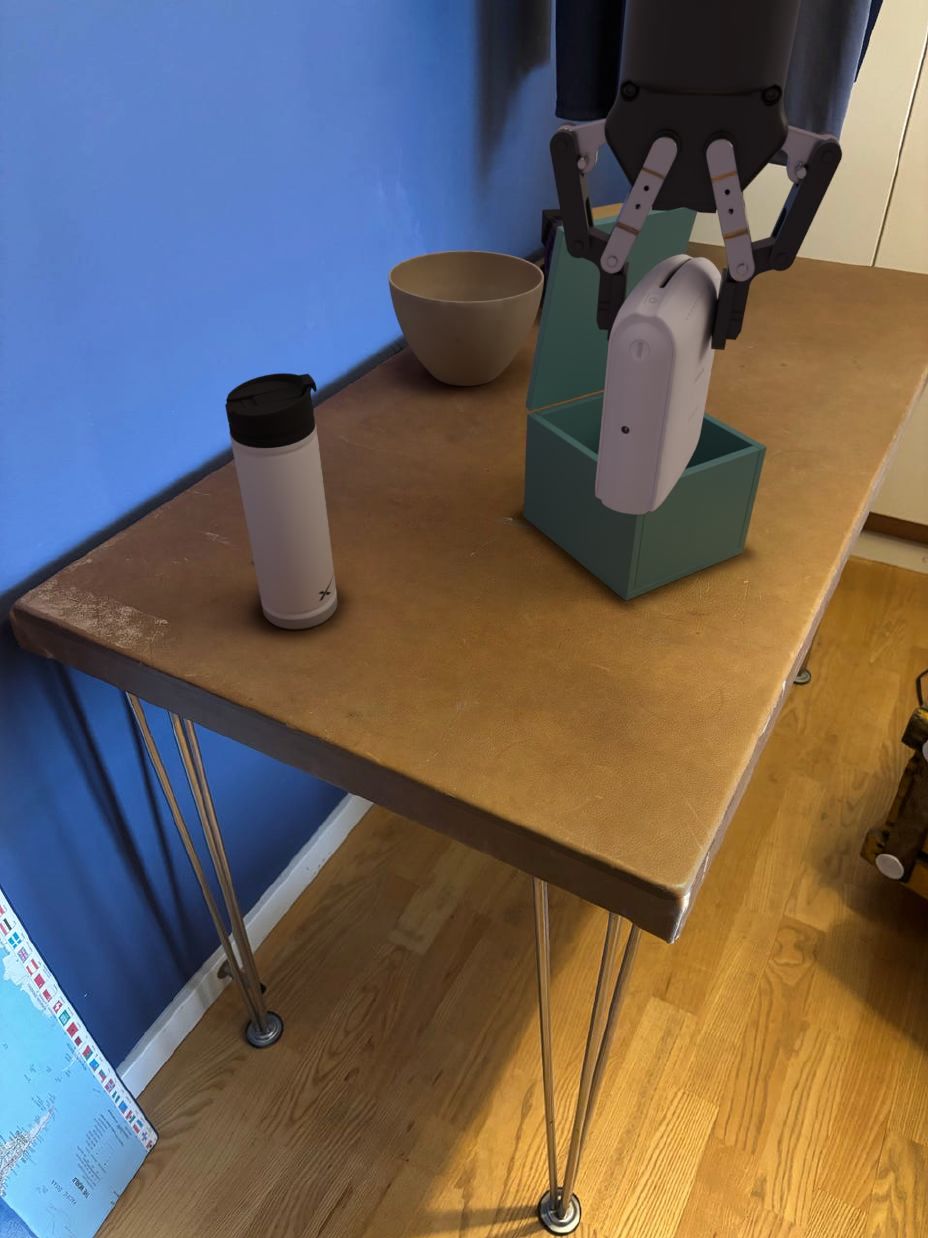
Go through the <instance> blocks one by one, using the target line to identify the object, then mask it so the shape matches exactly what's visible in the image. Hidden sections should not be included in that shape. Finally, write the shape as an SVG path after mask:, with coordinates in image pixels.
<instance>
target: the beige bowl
mask: <svg viewBox="0 0 928 1238" xmlns="http://www.w3.org/2000/svg"><path fill="white" fill-rule="evenodd" d="M543 283H544V275H543V272H542V271H541V270H540V267H538V266H537V265H536V264H534V263H532V262H531V261H528V260H526V259H523V258H522V257H517V256H514V255H511V254H505V253H500V252H492V251H483V250H446V251H438V252H430V253H425V254H420V255H416V256H413V257H410V258H406V259H404V260H402V261H400V262H398V263H397V264H395V265H394V266H393V267H392V268H391V269H390V270H389V272H388V287H389V293H390V299H391V302H392V307H393V311H394V314H395V317H396V320H397V323H398V326H399V327H400V330H401V333H402V334H403V337H404V338H405V341H406V342H407V344H408V346H409V347H410V349H411V351H412V352H413V355H415V357H416V358H417V359H418V361H419V362H420V363H421V364H422V365H423V367H424V368H425V369H426V370H427V372H429V373H430V374H431V375H432V376H433V378H435V379H437V380H438V381H440V382H442V383H445V384H448V385H452V386H460V387H471V386H472V387H473V386H479V385H484V384H487V383H490V382H492V381H494V380H496V379H497V378H498V377H499V376H500V375H501V374H502V373H503V372H504V371H505V370H506V369H507V367H508V366H509V365H510V364H511V362H512V361H513V360H514V359H515V357H516V356H517V355H518V354H519V352H520V350H521V349H522V347H523V346H524V344H525V343H526V340H527V338H528V337H529V335H530V333H531V330H532V328H533V325H534V323H535V320H536V319H537V315H538V312H539V308H540V304H541V296H542V290H543Z"/></svg>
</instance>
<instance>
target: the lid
mask: <svg viewBox="0 0 928 1238" xmlns="http://www.w3.org/2000/svg"><path fill="white" fill-rule="evenodd" d="M623 203H624V202H618V203H613V204H607V205H602V206H597V208H596V207H592V214H593V220H594V227H595V228H597V229H599V230H601V231H604V232H606V233H608V234H610V233H611V231H612V228H613V226H614V224H615V222H616V220H617V217H618V215H619V213H620V210H621V208H622V206H623ZM697 215H698V212H697V211H694V210H691V209H688V208H679V209H674V210H670V211H657V210H652V208H651V209H650V211H649V213H648V215H647V218H646V220H645V222H644V224H643V226H642V228H641V230H640V232H639V234H638V235H637V237H636V239H635V242H634V244H633V246H632V248H631V250H630V252H629V254H628V256H627V259H626V262H630V263H629V273H628V283H627V292H626V299H627V297H628V296H629V294H630V293H631V292H632V290H633V289H634V287H635V286H636V285H637V284H638V283H639V281H640V280H641V279H642V278H643V277H644V275H645V274H647V273H648V272H649V271H650V270H651V269H652V268H654V267H655V266H656V265H658V264H659V263H661V262H662V261H664V260H666V259H668V258H670V257H673V256H676V255H681V254H685V255H686V252H687V248H688V245H689V242H690V238H691V235H692V232H693V228H694V225H695V222H696V218H697ZM599 281H600V272H599V269H598V267H597V266H596V265H595V264H594V263H593V262H591V261H589V260H587V259H584V258H574V257H572V256H571V255H570V254H569V253H568V251H567V246H566V240H565V235H564V229H563V223H562V226H559V227H557V232H556V238H555V243H554V249H553V255H552V260H551V266H550V271H549V277H548V282H547V288H546V293H545V299H544V304H543V303H542V311H541V315H540V322H539V327H538V333H537V337H536V342H535V343H536V344H535V349H534V355H533V361H532V366H531V372H530V376H529V383H528V387H527V392H526V393H527V394H526V398H525V404H524V407H525V408H526V409H527V410H528V411H529V412H532V411H536V410H538V409H539V410H540V409H542V408H545V407H546V408H547V407H549V406H552V405H553V406H554V405H555V404H556V405H557V404H559V403H562V402H563V403H564V402H567V401H571V400H573V399H577V398H580V397H585V396H587V395H592V394H594V393H599V392H600V391H601V392H602V391H604V388H605V378H606V368H607V356H608V346H609V341H607V335H608V330H599V327H598V324H597V321H596V317H597V305H598V293H599Z"/></svg>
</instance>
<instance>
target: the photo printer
mask: <svg viewBox="0 0 928 1238" xmlns="http://www.w3.org/2000/svg"><path fill="white" fill-rule="evenodd" d="M721 275H722V274H721V273H720V270H719V269H718V268H717V267H716V265H715V264H714V263H713V262H712V261H711V260H710V259H708V258H706V257H703V256H698V257H692V256H691V255H688V254H686V253H685V254H681V255H676V256H673V257H670V258H668V259H666V260H664V261H662V262H661V263H659V264H658V265H656V266H655V267H654V268H652V269H651V270H650V271H649V272H648V273H647V274H645V275H644V277H643V278H642V279H641V280H640V281H639V283H638V284H637V285H636V286H635V287H634V289H633V290H632V292H631V293H630V294H629V296H628V297H627V299H626V300H625V302H624V303H623V305H622V306H621V308H620V310H619V312H618V314H617V317H616V319H615V322H614V324H613V327H612V330H611V334H610V339H609V346H608V356H607V368H606V378H605V388H604V390H603V392H604V399H603V411H602V422H601V432H600V442H599V453H598V463H597V473H596V483H595V495H596V497H597V498H599V499H601V500H602V503H603V504H604V505H605V506H607V507H608V508H610V509H612V510H615V511H618V512H622V513H627V514H645V513H646V512H647V511H654V510H655V509H657V508H658V507H659V506H660V505H661V504H662V502H663V501H664V500H665V498H666V497H667V496H668V494H669V493H670V491H671V490H672V488H673V487H674V485H675V484H676V482H677V481H678V479H679V478H680V476H681V474H682V473H683V471H684V469H685V468H686V466H687V464H688V462H689V460H690V459H691V457H692V455H693V453H694V451H695V449H696V446H697V443H698V440H699V437H700V432H701V427H702V421H703V416H704V412H705V411H706V405H707V399H708V393H709V387H710V381H711V374H712V369H713V362H714V358H715V352H716V351H715V350H716V349H711V337H712V330H713V324H714V318H715V312H716V306H717V299H718V293H719V287H720V281H721Z"/></svg>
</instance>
